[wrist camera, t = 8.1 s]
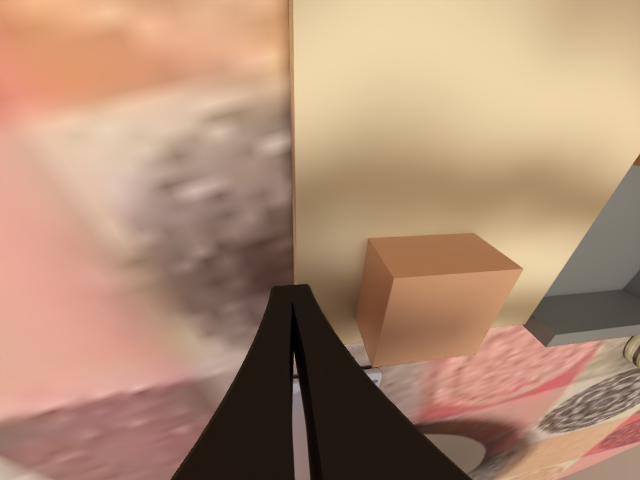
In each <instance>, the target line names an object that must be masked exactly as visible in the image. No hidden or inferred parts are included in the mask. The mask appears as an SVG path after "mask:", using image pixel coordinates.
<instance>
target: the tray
mask: <svg viewBox="0 0 640 480" xmlns="http://www.w3.org/2000/svg"><path fill="white" fill-rule="evenodd" d="M522 325H523V326H524V327H525V328H526V329H527V330H528V331H529V332H530V333H532V334H533V335H534V336H535V337H536V338H537V339H538V340H539V341H540V342H541V343H542V344H543V345H544V346H545V347H552V346H559V345H567V344H575V343H582V342H590V341H597V340H605V339H613V338H620V337H628V336H635V335H640V166H636V165H632V166H631V167H630V169H629V170H628V172H627V173H626V175H625V176H624V178H623V179H622V181H621V182H620V184H619V185H618V187H617V188H616V190H615V191H614V193H613V194H612V196H611V197H610V198H609V200H608V201H607V203H606V204H605V206H604V207H603V209H602V210H601V212H600V213H599V215H598V216H597V218H596V219H595V221H594V222H593V224H592V225H591V227H590V228H589V230H588V231H587V233H586V234H585V236H584V237H583V239H582V240H581V242H580V243H579V245H578V246H577V248H576V249H575V251H574V252H573V254H572V255H571V257H570V258H569V260H568V261H567V262H566V264H565V265H564V267H563V268H562V270H561V271H560V273H559V274H558V276H557V277H556V279H555V280H554V282H553V283H552V285H551V286H550V288H549V289H548V291H547V292H546V294H545V295H544V297H543V298H542V300H541V301H540V303H539V304H538V306H537V307H536V309H535V310H534V312H533V313H532V315H531V316H530V318H529V319H528V321H527V322H526V324H522Z"/></svg>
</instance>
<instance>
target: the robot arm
mask: <svg viewBox="0 0 640 480" xmlns="http://www.w3.org/2000/svg"><path fill="white" fill-rule="evenodd" d="M294 355H295V361H296V367H297V373H298V378H296V379H293V365H294ZM381 378H382V373H381V370H380V369H378V368H373V369H365V370H363V369H362V368H361V367H360V365H359V364H358V363H357V362H356V360H355V359H354V358H353V356H352V355H351V354H350V352H349V351H348V350H347V348H346V347H345V346H344V344H343V343H342V341H341V340H340V339H339V337H338V336H337V334H336V333H335V331H334V330H333V328H332V326H331V325H330V323H329V322H328V320H327V319H326V317H325V315H324V314H323V312H322V310H321V308H320V306H319V305H318V303H317V301H316V299H315V297H314V295H313V292H312V290H311V287H310V286H309V285H308V284H299V285H287V286H274V287H273V288H272V289H271V292H270V297H269V301H268V304H267V308H266V310H265V313H264V316H263V319H262V321H261V324H260V326H259V329H258V331H257V334H256V336H255V338H254V341H253V343H252V345H251V347H250V349H249V351H248V353H247V355H246V358H245V360H244V362H243V364H242V366H241V368H240V370H239V371H238V373H237V375H236V377H235V379H234V381H233V383H232V384H231V386H230V388H229V390H228V391H227V393H226V395H225V397H224V398H223V400H222V402H221V403H220V405H219V407H218V408H217V410H216V412H215V413H214V415H213V416H212V418H211V420H210V421H209V423H208V425H207V426H206V428H205V429H204V431H203V432H202V434H201V436H200V437H199V439H198V440H197V442H196V443H195V445H194V446H193V448H192V449H191V451H190V452H189V454H188V455H187V456H186V458H185V459H184V461H183V462H182V464H181V465H180V467H179V468H178V470H177V471H176V472H175V474H174V475H173V477H172V478H171V480H473V479H471V478H470V477H469V476H468V475H467V474H466V473H464V472H463V471H462V470H461V469H460V468H459V467H458V466H456V465H455V463H453V462H452V461H451V460H450V459H449V458H448V457H447V456H446V455H445V454H444V453H442V452H441V451H440V450H439V449H438V448H437V447H436V446H435V445H434V444H433V443H432V442H431V441H430V440H429V439H428V438H427V437H426V436H425V435H424V434H422V433H421V432H420V431H419V430H418V429H417V428H416V427H415V426H414V425H413V424H412V423H411V422H410V421H409V420H408V418H407V417H406V416H405V415H404V414H403V413H402V412H401V411H400V410H399V409H398V408H397V407H396V406H395V405H394V404H393V403H392V402H391V401H390V400H389V399H388V398H387V397H386V396H385V395H384V393H383V392H382V391H381V390H380V389H379V385H380V382H381Z"/></svg>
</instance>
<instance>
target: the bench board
mask: <svg viewBox="0 0 640 480" xmlns="http://www.w3.org/2000/svg"><path fill="white" fill-rule="evenodd" d="M289 46H290V97H291V148H292V198H293V249H294V285H299V284H308V285H309V286H310V287H311V290H312V292H313V295H314V297H315V299H316V301H317V303H318V305H319V306H320V308H321V310H322V312H323V314H324V315H325V317H326V319H327V320H328V322H329V323H330V325H331V326H332V328H333V330H334V331H335V333H336V334H337V336H338V337H339V339H340V340H341V341H342V343H343V344H344V345H345V344H353V343H362V342H363V340H362V337H361V334H360V331H359V329H358V326H357V323H356V313H357V307H358V301H359V295H360V288H361V282H362V276H363V270H364V263H365V257H366V251H367V244H368V238H379V237H400V236H421V235H442V234H463V233H475V234H476V235H478V236H479V237H480V238H482V239H483V240H485V241H486V242H487V243H489V244H490V245H491V246H493V247H494V248H496V249H497V250H498V251H500V252H501V253H503V254H504V255H505V256H507V257H508V258H510V259H511V260H512V261H514V262H515V263H516V264H518V265H519V266H521V267H522V268H523V271H522V273H521V275H520V276H519V278H518V280H517V282H516V283H515V285H514V287H513V289H512V290H511V292H510V294H509V296H508V297H507V299H506V301H505V303H504V304H503V306H502V308H501V309H500V311H499V313H498V315H497V316H496V318H495V320H494V322H493V323H492V325H491V327H490V328H495V327H504V326H513V325H521V324H526V322H527V321H528V319H529V318H530V316H531V315H532V313H533V312H534V310H535V309H536V307H537V306H538V304H539V303H540V301H541V300H542V298H543V297H544V295H545V294H546V292H547V291H548V289H549V288H550V286H551V285H552V283H553V282H554V280H555V279H556V277H557V276H558V274H559V273H560V271H561V270H562V268H563V267H564V265H565V264H566V262H567V261H568V260H569V258H570V257H571V255H572V254H573V252H574V251H575V249H576V248H577V246H578V245H579V243H580V242H581V240H582V239H583V237H584V236H585V234H586V233H587V231H588V230H589V228H590V227H591V225H592V224H593V222H594V221H595V219H596V218H597V216H598V215H599V213H600V212H601V210H602V209H603V207H604V206H605V204H606V203H607V201H608V200H609V198H610V197H611V196H612V194H613V193H614V191H615V190H616V188H617V187H618V185H619V184H620V182H621V181H622V179H623V178H624V176H625V175H626V173H627V172H628V170H629V169H630V167H631V166H632V164H633V163H634V161H635V160H636V158H637V157H638V155H639V154H640V0H289Z"/></svg>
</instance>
